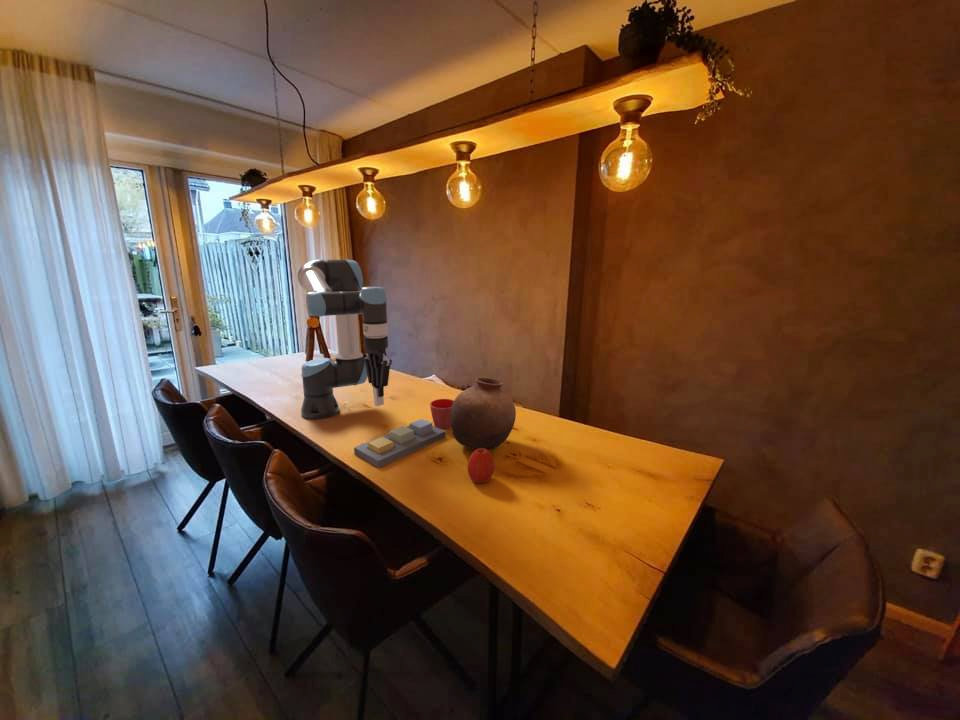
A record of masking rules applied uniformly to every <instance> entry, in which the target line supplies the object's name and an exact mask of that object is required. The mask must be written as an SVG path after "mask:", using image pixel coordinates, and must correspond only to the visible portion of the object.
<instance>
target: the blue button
mask: <svg viewBox="0 0 960 720" xmlns="http://www.w3.org/2000/svg"><path fill="white" fill-rule="evenodd" d="M409 426H410V429H411V430H414V434H415V435H418V436H423V435H425V434H427V433H430V432H432V426H433V422H431V421H429V420H425V419H423V418H420V419H418V420H415V421H413V422H410V423H409Z"/></svg>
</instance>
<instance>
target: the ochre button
mask: <svg viewBox="0 0 960 720" xmlns="http://www.w3.org/2000/svg"><path fill="white" fill-rule="evenodd" d="M380 437H381V438H379V437H378V438H379V439H376V438H375V439H376V440H374V439H372V440H373V441H371V440H370V441H371V442H369V441H367V442H368V449H369V450H371V451H373V452H375V453H377V454H381V453H383V452H386V451H388V450H390V449H393V448H394V443H393V441H390V440H388V439H386V438H384V437H382V436H380Z"/></svg>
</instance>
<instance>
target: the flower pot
mask: <svg viewBox="0 0 960 720" xmlns="http://www.w3.org/2000/svg"><path fill="white" fill-rule="evenodd" d="M454 400H455V399H450V398H449V399H448V398H438V399H433V400H432V401H431V402H430V403H429V407H430V412H431V417H432V421H433V422H432V423H433V426H434V427H437V428H439V429H442V430H448V429H451V424H450V416H451V409H452V405H453V403H454Z"/></svg>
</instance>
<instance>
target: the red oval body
mask: <svg viewBox="0 0 960 720" xmlns="http://www.w3.org/2000/svg"><path fill="white" fill-rule="evenodd" d="M468 459H469V460H468V462H467V473H468V475H469V478H470V480H471V481H472V482H473V483H474V484H483V483H485V482H488V481H490V479H491V478H492V476H493V474H494V472H495V469H496V468H495V466H496V465H495V461H494V458H493V456H492V454H491V453H490V450H486V449H484V448H479V449H476V450H475V449H474V451H473V452H472V454H471V455H470V457H469V458H468Z"/></svg>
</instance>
